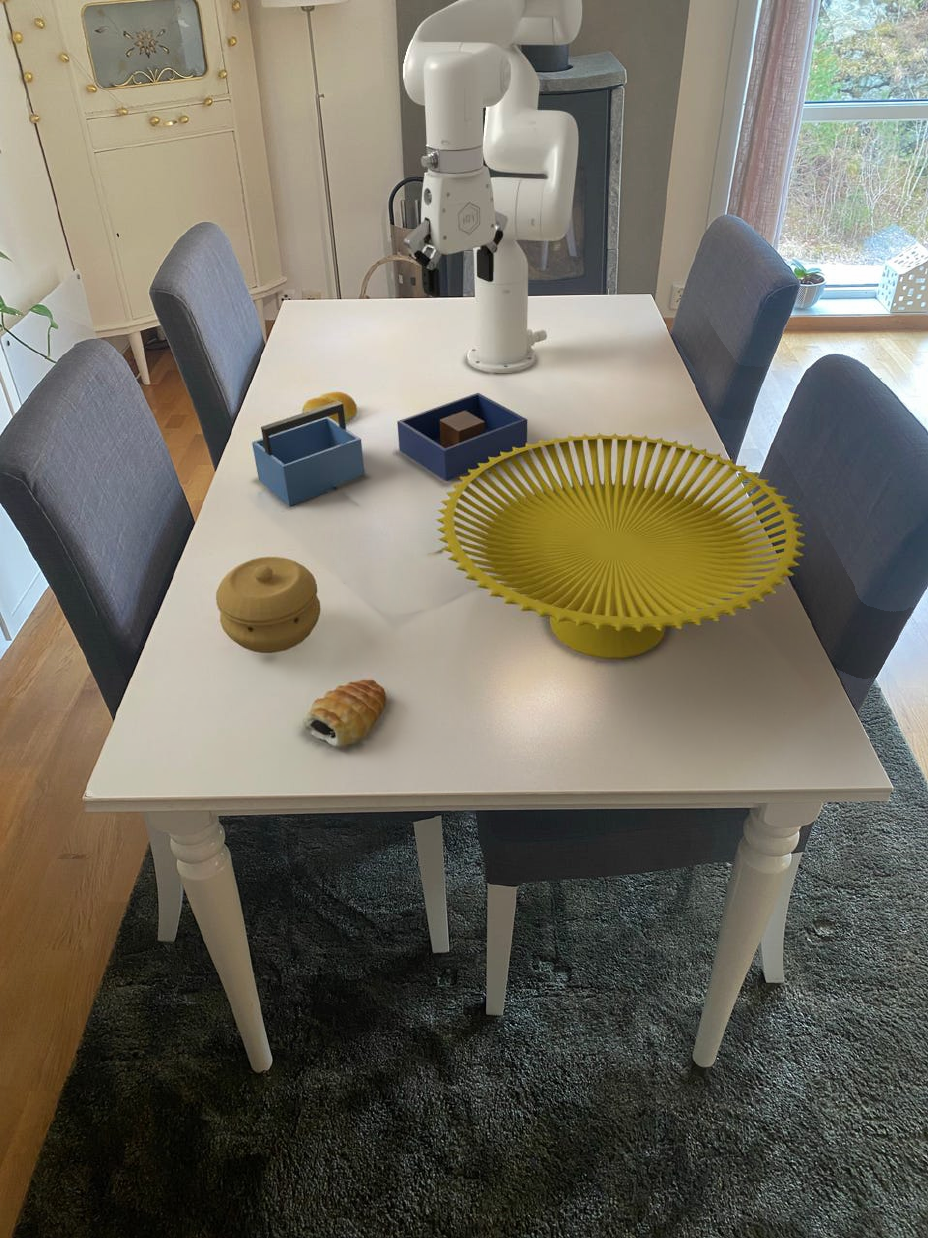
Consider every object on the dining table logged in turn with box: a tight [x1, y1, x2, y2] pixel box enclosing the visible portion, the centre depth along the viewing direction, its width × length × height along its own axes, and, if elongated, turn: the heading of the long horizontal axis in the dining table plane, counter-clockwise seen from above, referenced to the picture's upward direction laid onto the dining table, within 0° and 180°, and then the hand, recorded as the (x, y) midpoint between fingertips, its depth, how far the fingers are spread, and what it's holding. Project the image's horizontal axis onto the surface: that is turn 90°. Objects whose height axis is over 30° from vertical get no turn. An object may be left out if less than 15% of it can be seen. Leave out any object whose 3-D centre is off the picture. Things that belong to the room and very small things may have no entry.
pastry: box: [302, 679, 387, 748], centre depth 101 cm, size 9×7×4 cm
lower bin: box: [396, 392, 528, 482], centre depth 147 cm, size 16×12×6 cm
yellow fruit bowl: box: [436, 432, 806, 660], centre depth 110 cm, size 40×40×15 cm
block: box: [440, 411, 485, 448], centre depth 146 cm, size 5×5×5 cm
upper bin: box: [251, 401, 366, 507], centre depth 140 cm, size 13×10×11 cm
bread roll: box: [301, 391, 358, 424], centre depth 158 cm, size 8×9×4 cm
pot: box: [215, 556, 321, 654], centre depth 111 cm, size 12×12×10 cm
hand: (458, 286), depth 137 cm, fingers open, 9 cm apart
